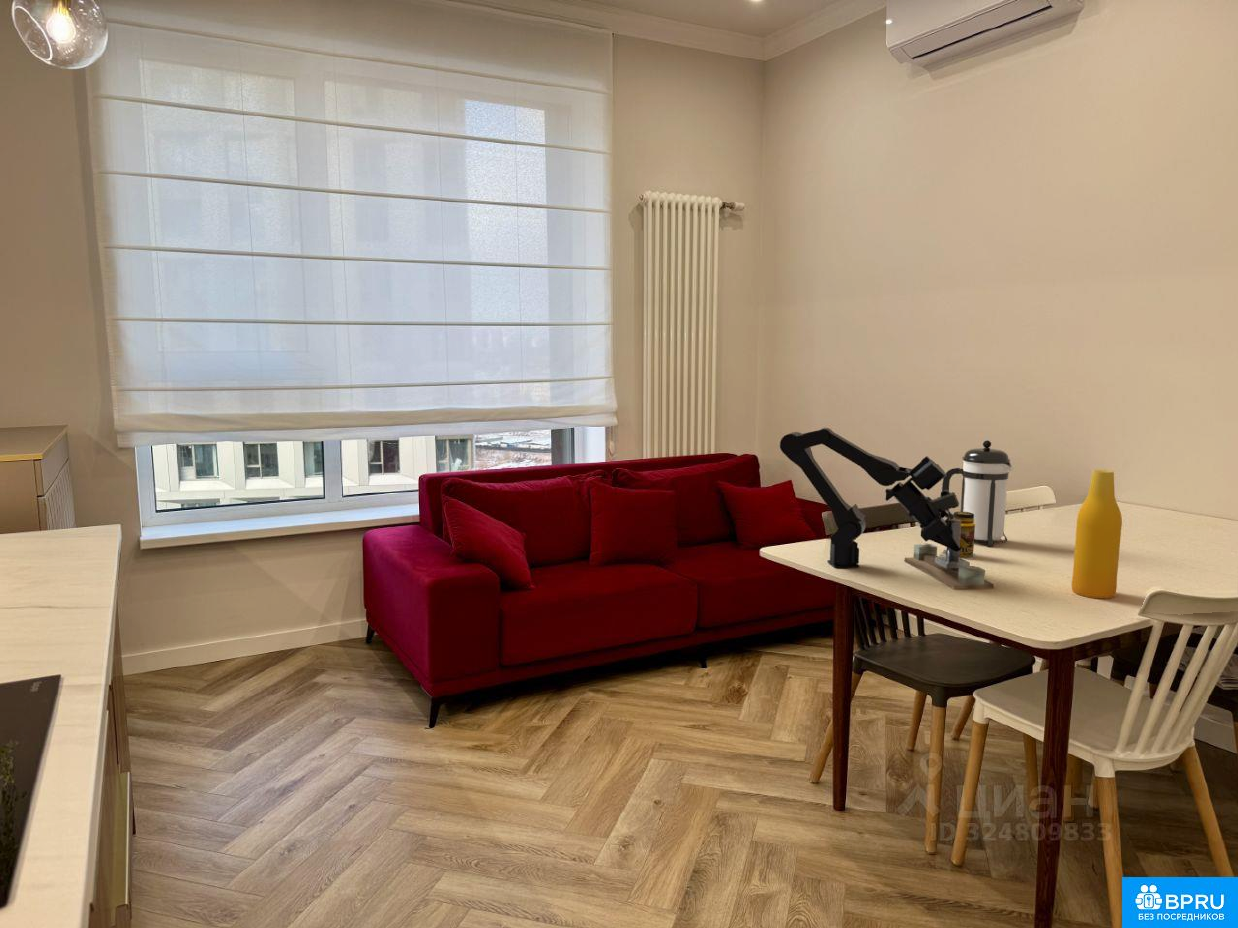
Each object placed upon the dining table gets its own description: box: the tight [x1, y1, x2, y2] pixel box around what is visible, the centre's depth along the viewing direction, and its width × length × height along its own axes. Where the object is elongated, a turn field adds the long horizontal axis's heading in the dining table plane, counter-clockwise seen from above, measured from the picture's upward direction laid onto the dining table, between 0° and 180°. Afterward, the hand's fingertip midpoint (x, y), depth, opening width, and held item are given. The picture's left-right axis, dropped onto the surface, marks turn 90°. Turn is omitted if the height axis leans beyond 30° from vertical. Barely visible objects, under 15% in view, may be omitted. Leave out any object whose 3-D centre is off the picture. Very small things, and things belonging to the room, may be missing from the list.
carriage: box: [935, 519, 971, 569], centre depth 219 cm, size 6×6×11 cm
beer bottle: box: [1071, 469, 1123, 600], centre depth 204 cm, size 9×9×29 cm
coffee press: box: [941, 440, 1014, 548], centre depth 258 cm, size 17×16×30 cm
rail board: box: [903, 542, 995, 590], centre depth 222 cm, size 10×27×5 cm, turn 7°
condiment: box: [940, 510, 977, 560], centre depth 242 cm, size 7×8×12 cm
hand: (959, 549), depth 218 cm, fingers closed on carriage, 3 cm apart
